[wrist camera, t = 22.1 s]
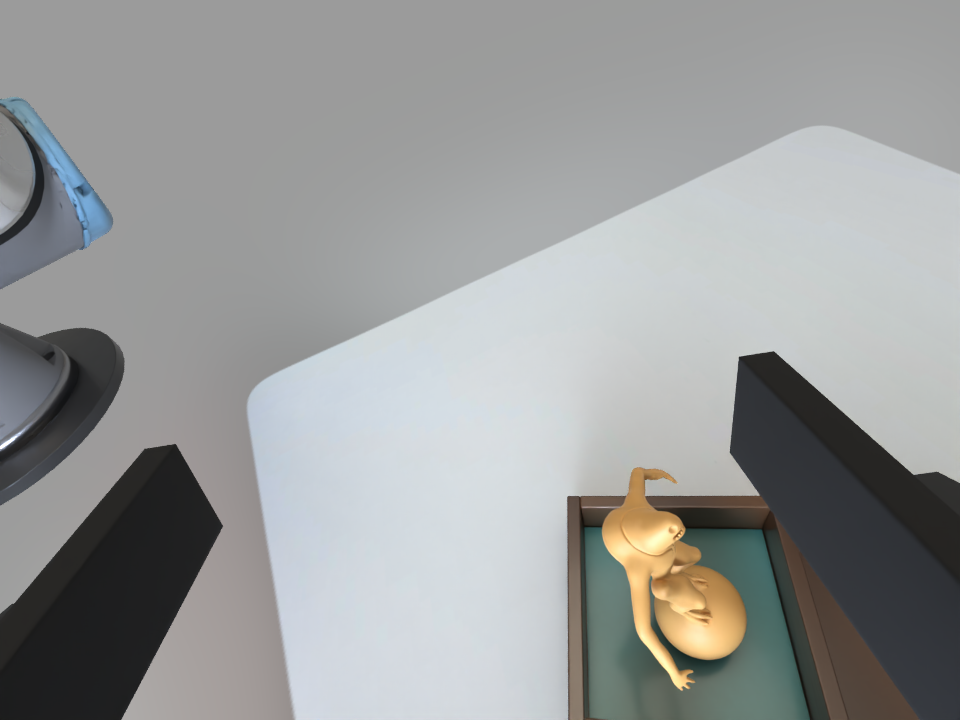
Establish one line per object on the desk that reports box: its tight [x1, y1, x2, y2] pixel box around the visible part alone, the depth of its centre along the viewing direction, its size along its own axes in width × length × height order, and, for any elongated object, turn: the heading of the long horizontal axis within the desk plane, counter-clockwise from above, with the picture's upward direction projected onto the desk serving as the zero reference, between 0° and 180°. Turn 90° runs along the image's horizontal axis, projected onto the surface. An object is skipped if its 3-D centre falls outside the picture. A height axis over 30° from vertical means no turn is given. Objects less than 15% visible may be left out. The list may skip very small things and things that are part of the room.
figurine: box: [602, 467, 747, 690], centre depth 21 cm, size 8×6×12 cm
